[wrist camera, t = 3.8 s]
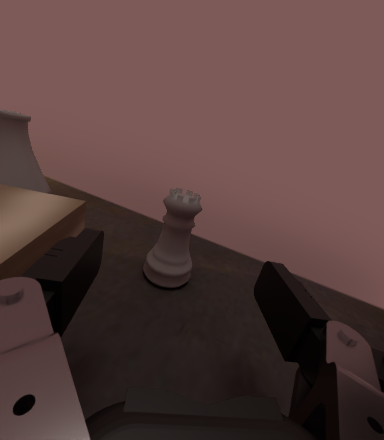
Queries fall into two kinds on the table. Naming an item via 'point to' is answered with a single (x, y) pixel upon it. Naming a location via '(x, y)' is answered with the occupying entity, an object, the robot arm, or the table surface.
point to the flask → (18, 154)
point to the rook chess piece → (173, 241)
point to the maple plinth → (34, 226)
